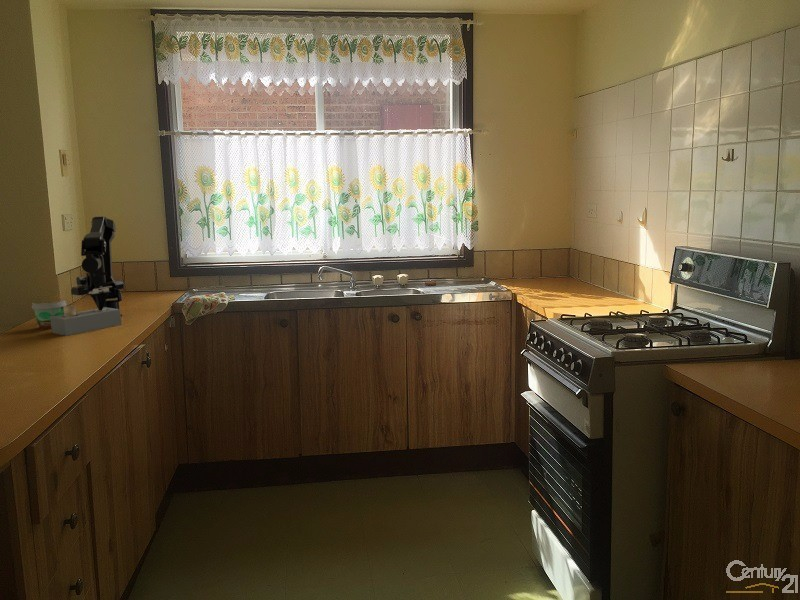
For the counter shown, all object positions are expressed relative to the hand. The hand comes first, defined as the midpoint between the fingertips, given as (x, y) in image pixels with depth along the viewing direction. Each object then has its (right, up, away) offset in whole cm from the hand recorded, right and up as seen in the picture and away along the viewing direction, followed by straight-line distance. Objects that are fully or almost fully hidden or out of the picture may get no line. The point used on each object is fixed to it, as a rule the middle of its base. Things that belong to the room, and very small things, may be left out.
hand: (100, 310), depth 273 cm
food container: (-19, -7, 0) cm, 20 cm away
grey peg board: (-3, -7, -4) cm, 9 cm away
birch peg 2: (0, -6, +1) cm, 6 cm away
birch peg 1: (-7, -4, -9) cm, 12 cm away
